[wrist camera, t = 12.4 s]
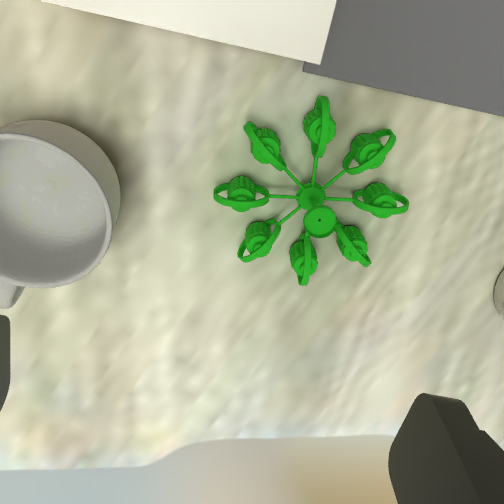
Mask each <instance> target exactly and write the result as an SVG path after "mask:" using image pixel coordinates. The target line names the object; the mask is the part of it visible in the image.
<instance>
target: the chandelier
mask: <svg viewBox="0 0 504 504" xmlns="http://www.w3.org/2000/svg"><path fill="white" fill-rule="evenodd" d="M303 124H304V132H305V134H306V135H307V136H308V138H309V140H310V141H311V147H312V154H313V157H315V158H314V166H313V174H312V183H307V184H304V185H303V186H302V185H301V183H300V182H299V181H298V180H297V179H296V178H295V177H294V176H293V174H292V173H291V172H290V171H289V170H288V169H287V168H286V167H287V165H286V163H285V161H284V159H283V158H282V156H281V155H280V151H281V150H280V140H279V138H278V137H277V135H276V133H275V132H273V131H272V130H271V129H266V128H263V129H258V128H257V127H256V126H255V125H254V124H253V123H251V122H248V123H246V124H245V125H244V130H245V132H246V134H247V135H248V137H249V138H250V140H251V153H252V154H253V155H254V158H255V159H257V160H258V161H259V162H261V163H264V164H268V163H271V164H272V165H273V166H274V167H275V168H276V169H277V170H279V171H282V170H285V172H286V173H287V174H288V175H289V176H290V177H291V178H292V179H293V181H294V182H295V183H296V184H297V185H298V186H299V187H300V189H299V190H298V192H297V195H296V196H292V195H271V194H269V191H268V190H267V189H265V188H264V187H261V186H258V185H254V184H253V181H251V180H250V179H249V178H247V177H244V176H240V180H239V177H236V178H235V179H233V180H231V183H227V184H222V185H219V186H217V187H216V188H215V189H214V199H215V201H217V202H218V203H220V204H222V205H225V206H229V207H232V208H233V209H234V210H236V211H239V212H245V211H247V210H249V209H250V208H254V207H259V206H262V205H265V204H266V203H267V202H268V201H269V198H288V199H296V200H297V203H298V204H299V206H298V207H297V208H296V209H295V210H293V211H292V212H291V213H290V214H288V215H287V216H286V217H285V218H283V219H282V220H281V221H280V222H278V221H277V220H275V219H270V220H267V221H265V222H264V223H263V222H254V223H252V224H251V225H249V227H248V228H247V229H246V234H245V239H244V241H243V242H242V244H241V245H240V247H239V249H238V253H237V255H238V257H239V258H240V259H241V260H242V261H243V262H250V261H252V260H254V259H256V258H258V257H264V256H266V255H267V254H268V253H269V252H270V250H271V248H272V244H273V243H274V241H275V240H276V239H277V237H278V235H279V233H280V230H281V224H282V223H283V222H285V221H286V220H287V219H288V218H290V217H291V216H292V215H293V214H295V213H296V212H297V211H298V210H300V209H301V208H303V209H306V210H308V211H307V212H306V214H305V216H304V220H303V223H304V227H305V230H306V233H305V234H301V236H300V240H299V242H297V243H295V244H294V245H293V246H292V247H291V249H290V252H289V253H290V260H291V265H292V268H293V269H294V270H295V272H296V273H297V276H298V283H299V285H307V284H308V281H309V276H310V275H312V274H313V273H314V272H315V271H316V269H317V264H318V262H317V255H316V252H315V249H314V247H313V246H312V245H311V241H310V236H312V237H315V238H324V237H327V236H329V235H330V234H332V233H333V232H334V230H335V231H336V233H337V244H338V246H339V249H340V251H341V252H342V255H343V256H345V257H346V258H347V259H348V260H350V261H359V262H360V263H361V264H362V265H363V266H364V267H367V266H369V265H370V264H371V261H370V259H369V257H368V255H367V242H366V240H365V238H364V236H363V234H362V233H361V231H360V230H359V229H358V228H356V227H354V226H347V227H345V226H344V225H343V224H342V223H340V222H338V223H337V218H336V215H335V213H334V212H333V210H332V209H331V208H329V207H327V206H323V205H322V204H323V202H324V200H331V201H352V202H353V204H354V205H355V206H357V207H358V208H360V209H362V210H365V211H368V212H371V213H372V214H373V215H375V216H376V217H378V218H387V217H389V216H391V215H396V214H401V213H404V212H406V211H407V210H408V206H409V201H408V199H407V198H405V197H404V196H402V195H400V194H397V193H394V192H391V191H390V190H389V188H387V187H386V186H385V184H380V183H373V184H371V185H370V186H368V187H367V188H366V189H365V190H358V191H356V192H354V193H353V198H335V197H325V191H324V189H326V188H327V187H328V186H329V185H331V184H332V183H333V182H334V181H335V180H337V179H338V178H339V177H340V176H342V175H343V174H344V173H345V172H347V173H348V174H350V175H355V174H359V173H361V172H363V171H365V170H367V169H374V168H377V167H379V166H380V165H381V164H382V163H383V161H384V159H385V156H386V154H387V153H388V152H389V151H390V150H391V148H392V147H393V145H394V143H395V141H396V136H395V135H394V133H393V132H392V131H391V130H390V129H383V130H379V131H377V132H375V133H373V134H371V135H370V134H369V133H368V134H361V135H359V136H360V137H359V136H357V137H356V138H355V140H353V141H352V145H351V148H350V149H351V152H350V153H349V154H348V155H347V157H346V158H345V160H344V162H343V168H344V170H343V171H341V172H340V173H339V174H338V175H337V176H335V177H334V178H333V179H332V180H330V181H329V182H328V183H327V184H325V185H324V186H323V187H321V186H320V185H319V184H316V183H315V177H316V169H317V160H318V158H321V157H322V156H323V154H324V152H325V148H326V144H327V143H329V142H330V141H331V140H332V139H333V138H334V136H335V132H336V128H335V125H336V123H335V122H334V121H333V119H332V117H331V115H330V113H329V100H328V98H327V96H319V97H318V98H317V101H316V104H315V109H314V110H313V111H310V112H309V113H308V114H307V115H306V116H305V120H304V122H303ZM261 130H262V131H261ZM387 135H390V137H389V140H388V141H387V143H386V144H385V146H383V145H382V144H381V142H380V141H379V140H378V138H380V137H383V136H387ZM262 136H263V137H262ZM366 143H367V144H366ZM318 144H319V146H318ZM361 147H362V148H361ZM353 158H354V159H355V160H356V161H357V162H358V164H359V166H357V167H354V168H349V165H350V163H351V161H352V159H353ZM245 187H246V188H245ZM249 189H250V190H249ZM225 190H228V197H227V199H226V198H223V197H221V196H219V195H218V193H219V192H222V191H225ZM256 192H259V193H261V194H263V195H264V196H265V197H264V198H262V199H259V200H255V196H256ZM375 193H376V194H375ZM377 195H378V196H377ZM360 196H363V200H364V202H361V201H360V200H358V199H357V197H360ZM372 200H373V201H372ZM396 200H397V201H399V202H401V203H402V204H404V206H402V207H397V204H396ZM396 207H397V208H396ZM271 225H275V228H274V231H273V232H272V233H271V230H270V227H269V226H271ZM347 228H348V229H347ZM348 230H349V231H348ZM258 231H259V232H258ZM253 235H254V236H253ZM309 235H310V236H309ZM353 238H354V239H353ZM357 238H358V239H357ZM350 239H351V240H350ZM246 247H247V249H248V251H249V253H250V255H248V256H244V257H243V253H244V251H245V249H246ZM302 254H303V255H302Z"/></svg>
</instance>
